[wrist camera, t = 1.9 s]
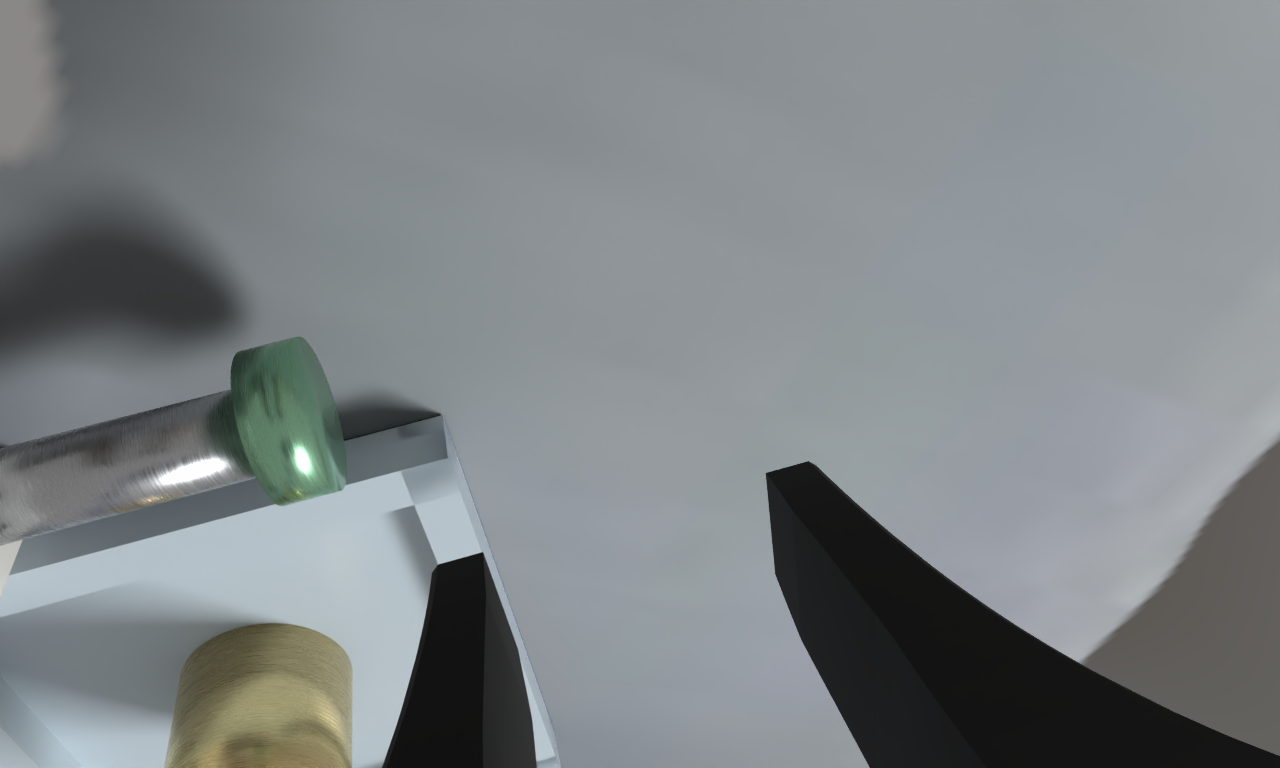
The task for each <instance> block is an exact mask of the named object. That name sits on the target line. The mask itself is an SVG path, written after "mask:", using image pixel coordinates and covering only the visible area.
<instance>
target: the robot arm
mask: <svg viewBox="0 0 1280 768" xmlns="http://www.w3.org/2000/svg"><path fill="white" fill-rule="evenodd" d="M766 480H767V490H768V501H769V512H770V522H771V533H772V544H773V554H774V565H775V574H776V577H777V580H778V582H779V585H780V587H781V590H782V592H783V595H784V598H785V600H786V603H787V605H788V608H789V610H790V613H791V615H792V618H793V620H794V623H795V625H796V628H797V630H798V633H799V635H800V637H801V640H802V642H803V644H804V646H805V648H806V649H807V651H808V653H809V655H810V657H811V659H812V661H813V663H814V665H815V666H816V668H817V670H818V672H819V674H820V676H821V678H822V680H823V681H824V683H825V685H826V687H827V689H828V691H829V693H830V695H831V696H832V698H833V700H834V702H835V704H836V706H837V707H838V709H839V711H840V713H841V715H842V717H843V719H844V720H845V722H846V724H847V726H848V728H849V730H850V732H851V733H852V735H853V737H854V739H855V741H856V743H857V745H858V746H859V748H860V750H861V752H862V754H863V756H864V758H865V759H866V761H867V763H868V765H869V767H870V768H1280V756H1278V755H1275V754H1273V753H1270V752H1267V751H1265V750H1263V749H1260V748H1257V747H1255V746H1252V745H1250V744H1247V743H1244V742H1242V741H1239V740H1237V739H1234V738H1232V737H1229V736H1227V735H1225V734H1222V733H1220V732H1218V731H1215V730H1213V729H1211V728H1209V727H1206V726H1204V725H1202V724H1200V723H1197V722H1195V721H1193V720H1191V719H1188V718H1186V717H1184V716H1182V715H1180V714H1177V713H1175V712H1173V711H1171V710H1169V709H1167V708H1165V707H1163V706H1161V705H1159V704H1157V703H1155V702H1153V701H1151V700H1149V699H1147V698H1145V697H1143V696H1141V695H1139V694H1137V693H1135V692H1133V691H1131V690H1129V689H1127V688H1125V687H1123V686H1121V685H1119V684H1117V683H1116V682H1114V681H1112V680H1110V679H1108V678H1106V677H1104V676H1102V675H1100V674H1098V673H1096V672H1094V671H1092V670H1090V669H1089V668H1087V667H1085V666H1083V665H1082V664H1080V663H1078V662H1076V661H1075V660H1073V659H1071V658H1069V657H1068V656H1066V655H1064V654H1062V653H1061V652H1059V651H1057V650H1055V649H1054V648H1052V647H1050V646H1049V645H1047V644H1045V643H1044V642H1042V641H1040V640H1039V639H1037V638H1036V637H1034V636H1032V635H1031V634H1029V633H1027V632H1026V631H1024V630H1023V629H1021V628H1019V627H1018V626H1016V625H1015V624H1013V623H1012V622H1010V621H1009V620H1007V619H1005V618H1004V617H1002V616H1001V615H999V614H998V613H996V612H995V611H993V610H992V609H991V608H989V607H988V606H986V605H985V604H983V603H982V602H980V601H979V600H978V599H976V598H975V597H973V596H972V595H970V594H969V593H968V592H966V591H965V590H963V589H962V588H961V587H959V586H958V585H956V584H955V583H954V582H952V581H951V580H950V579H948V578H947V577H946V576H944V575H943V574H942V573H940V572H939V571H938V570H936V569H935V568H934V567H932V566H931V565H930V564H929V563H927V562H926V561H925V560H924V559H922V558H921V557H920V556H919V555H917V554H916V553H915V552H914V551H912V550H911V549H910V548H909V547H907V546H906V545H905V544H904V543H902V542H901V541H900V540H899V539H897V538H896V537H895V536H894V535H892V534H891V533H890V532H889V531H888V530H886V529H885V528H884V527H883V526H882V525H881V524H879V523H878V522H877V521H876V520H875V519H874V518H872V517H871V516H870V515H869V514H868V513H867V512H866V511H864V510H863V509H862V508H861V507H860V506H859V505H858V504H857V503H855V502H854V501H853V500H852V499H851V498H850V497H849V496H848V495H847V494H846V493H844V492H843V491H842V490H841V489H840V488H839V487H838V486H837V485H836V484H835V483H834V482H833V481H832V480H831V479H830V478H828V477H827V476H826V475H825V474H824V473H823V472H822V471H821V470H820V469H819V468H818V467H817V466H816V465H814V464H812V463H811V462H809V461H808V462H804V463H801V464H797V465H793V466H790V467H786V468H783V469H779V470H775V471H772V472H768V473H766ZM382 768H537V763H536V752H535V742H534V732H533V722H532V716H531V711H530V706H529V700H528V695H527V690H526V685H525V681H524V676H523V671H522V666H521V661H520V656H519V651H518V647H517V645H516V642H515V639H514V636H513V634H512V631H511V628H510V625H509V622H508V620H507V617H506V614H505V611H504V608H503V606H502V603H501V600H500V597H499V595H498V592H497V589H496V586H495V583H494V581H493V578H492V575H491V572H490V570H489V567H488V564H487V561H486V558H485V556H484V553H483V552H481V553H477V554H474V555H470V556H467V557H463V558H460V559H456V560H452V561H449V562H445V563H442V564H438V565H437V566H436V568H435V569H434V571H433V572H432V575H431V584H430V591H429V597H428V603H427V609H426V614H425V619H424V624H423V629H422V633H421V637H420V642H419V646H418V650H417V655H416V659H415V662H414V666H413V670H412V673H411V677H410V680H409V684H408V688H407V691H406V695H405V698H404V702H403V706H402V709H401V712H400V716H399V719H398V722H397V725H396V728H395V731H394V734H393V737H392V740H391V743H390V746H389V748H388V751H387V754H386V757H385V760H384V763H383V766H382Z"/></svg>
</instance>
